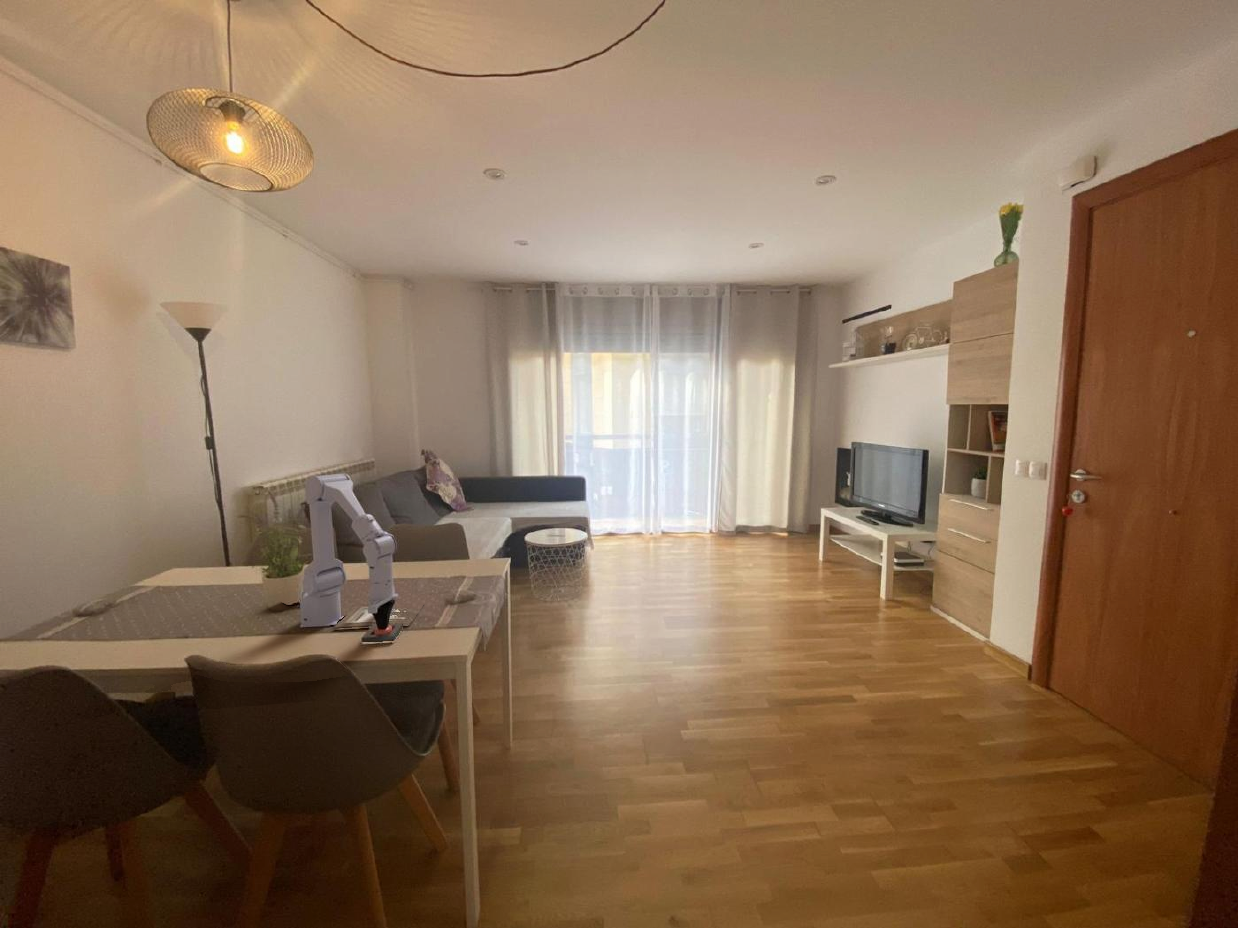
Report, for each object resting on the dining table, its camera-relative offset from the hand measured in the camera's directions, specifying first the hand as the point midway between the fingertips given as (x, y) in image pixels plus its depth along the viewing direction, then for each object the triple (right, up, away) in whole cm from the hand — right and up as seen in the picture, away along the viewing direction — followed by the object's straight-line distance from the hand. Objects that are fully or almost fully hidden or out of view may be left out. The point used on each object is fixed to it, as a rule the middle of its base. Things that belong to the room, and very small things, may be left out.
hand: (383, 628), depth 125 cm
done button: (0, -2, 0) cm, 2 cm away
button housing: (0, -3, 0) cm, 2 cm away
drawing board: (-7, -1, +13) cm, 15 cm away
